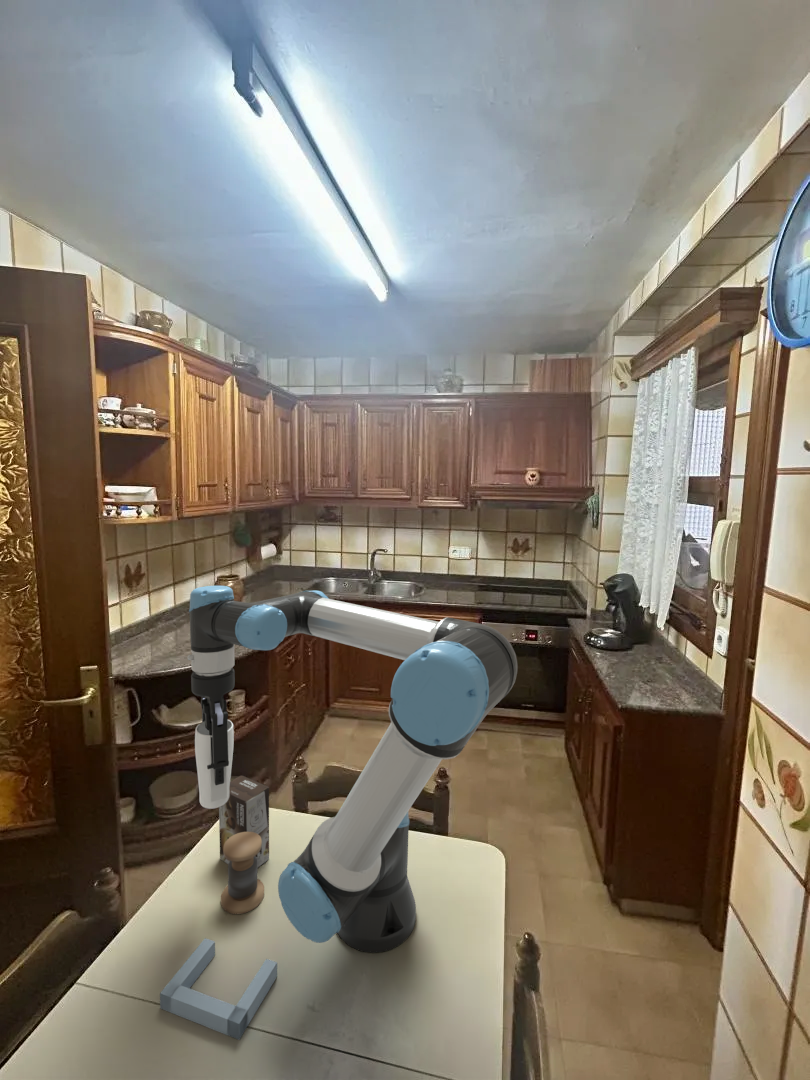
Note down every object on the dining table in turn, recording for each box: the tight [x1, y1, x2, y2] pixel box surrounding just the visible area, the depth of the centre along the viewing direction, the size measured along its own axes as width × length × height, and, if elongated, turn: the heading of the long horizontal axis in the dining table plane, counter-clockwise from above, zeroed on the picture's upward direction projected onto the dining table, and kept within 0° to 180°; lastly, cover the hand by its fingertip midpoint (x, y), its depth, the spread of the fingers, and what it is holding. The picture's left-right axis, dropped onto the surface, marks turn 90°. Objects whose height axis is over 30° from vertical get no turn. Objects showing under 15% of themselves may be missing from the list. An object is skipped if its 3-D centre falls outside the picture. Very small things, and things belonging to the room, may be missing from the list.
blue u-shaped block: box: [159, 937, 278, 1041], centre depth 78 cm, size 14×10×2 cm
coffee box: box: [218, 774, 270, 869], centre depth 106 cm, size 9×6×16 cm
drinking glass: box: [194, 719, 235, 810], centre depth 93 cm, size 7×7×15 cm
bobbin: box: [220, 832, 265, 915], centre depth 96 cm, size 8×8×11 cm
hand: (215, 788), depth 93 cm, fingers closed on drinking glass, 6 cm apart
